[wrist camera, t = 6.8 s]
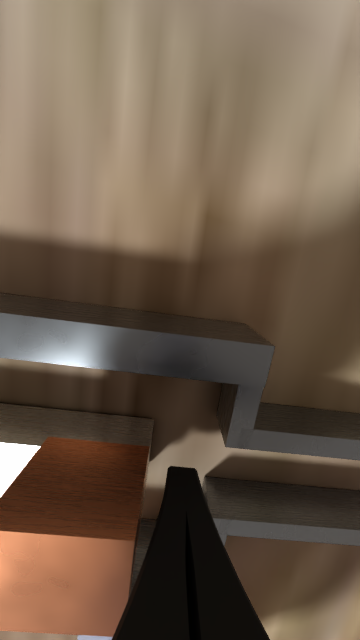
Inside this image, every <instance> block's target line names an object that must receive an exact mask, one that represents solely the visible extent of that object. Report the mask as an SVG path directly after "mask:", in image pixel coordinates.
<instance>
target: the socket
mask: <svg viewBox="0 0 360 640" xmlns="http://www.w3.org/2000/svg"><path fill="white" fill-rule="evenodd" d="M274 349H275V346H274V345H273V344H271V343H270V342H269V341H267V340H266V339H265V338H263V337H262V336H261V335H259V334H258V333H257V332H255V331H254V330H253V329H251V328H250V327H249V326H247V325H246V324H242V323H234V322H226V321H218V320H210V319H202V318H194V317H186V316H178V315H170V314H163V313H155V312H147V311H139V310H131V309H123V308H115V307H107V306H99V305H91V304H84V303H76V302H68V301H60V300H52V299H44V298H36V297H28V296H20V295H12V294H5V293H0V358H8V359H17V360H26V361H34V362H43V363H52V364H61V365H70V366H79V367H88V368H96V369H105V370H114V371H123V372H132V373H141V374H149V375H158V376H167V377H176V378H185V379H194V380H203V381H211V382H220V383H223V385H222V390H221V395H220V400H219V405H218V410H217V419H218V422H219V426H220V430H221V433H222V437H223V440H224V444H225V447H230V448H240V449H250V450H261V451H271V452H281V453H291V454H301V455H311V456H321V457H331V458H341V459H351V460H360V414H358V413H349V412H340V411H331V410H322V409H313V408H304V407H294V406H285V405H276V404H267V403H260V400H261V396H262V392H263V388H265V385H266V381H267V377H268V373H269V369H270V365H271V361H272V357H273V353H274ZM202 490H203V493H204V496H205V499H206V502H207V504H208V507H209V510H210V513H211V515H212V518H213V520H214V523H215V525H216V528H217V530H218V533H219V535H220V538H221V540H222V542H223V545H224V546H225V542H226V538H227V535H229V536H242V537H254V538H267V539H279V540H292V541H304V542H317V543H329V544H342V545H355V546H360V491H354V490H343V489H332V488H321V487H310V486H300V485H289V484H278V483H267V482H256V481H245V480H234V479H224V478H213V477H204V481H203V486H202ZM156 522H157V520H149V519H141V522H140V529H139V536H138V543H137V550H136V557H135V564H134V571H133V577H132V584H131V591H130V595H131V592H132V589H133V587H134V584H135V582H136V579H137V577H138V574H139V571H140V569H141V566H142V563H143V561H144V558H145V555H146V552H147V549H148V546H149V543H150V541H151V538H152V535H153V532H154V529H155V526H156Z"/></svg>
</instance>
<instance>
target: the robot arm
mask: <svg viewBox="0 0 360 640" xmlns="http://www.w3.org/2000/svg"><path fill="white" fill-rule="evenodd" d="M78 640H270V639H269V637H268V635H267V633H266V631H265V629H264V627H263V625H262V624H261V622H260V620H259V618H258V616H257V614H256V612H255V610H254V608H253V606H252V604H251V602H250V600H249V598H248V596H247V594H246V592H245V590H244V588H243V586H242V584H241V582H240V580H239V578H238V576H237V574H236V572H235V569H234V567H233V565H232V563H231V561H230V558H229V556H228V554H227V552H226V549H225V547H224V545H223V542H222V540H221V538H220V535H219V533H218V530H217V528H216V525H215V523H214V520H213V518H212V515H211V513H210V510H209V507H208V504H207V502H206V499H205V496H204V493H203V490H202V487H201V484H200V480H199V477H198V473H197V470H196V469H195V468H185V467H175V466H170V467H169V468H168V471H167V478H166V485H165V491H164V497H163V501H162V505H161V508H160V512H159V515H158V519H157V522H156V526H155V529H154V532H153V535H152V538H151V541H150V543H149V546H148V549H147V552H146V555H145V558H144V561H143V563H142V566H141V569H140V571H139V574H138V577H137V579H136V582H135V584H134V587H133V589H132V592H131V595H130V597H129V600H128V602H127V604H126V607H125V609H124V612H123V614H122V616H121V619H120V621H119V624H118V626H117V628H116V631H115V633H114V635H113V637H107V636H89V635H78Z"/></svg>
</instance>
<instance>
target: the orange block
mask: <svg viewBox="0 0 360 640" xmlns="http://www.w3.org/2000/svg"><path fill="white" fill-rule="evenodd" d="M153 424H154V419H147V418H137V417H128V416H118V415H108V414H99V413H89V412H79V411H70V410H60V409H50V408H41V407H31V406H21V405H12V404H2V403H0V631H18V632H36V633H53V634H71V635H89V636H107V637H113V635H114V633H115V631H116V628H117V626H118V624H119V621H120V619H121V616H122V614H123V612H124V609H125V607H126V604H127V602H128V600H129V597H130V591H131V584H132V577H133V571H134V564H135V557H136V550H137V543H138V536H139V529H140V522H141V514H142V507H143V500H144V493H145V486H146V480H147V473H148V466H149V457H150V449H151V441H152V433H153Z"/></svg>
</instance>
